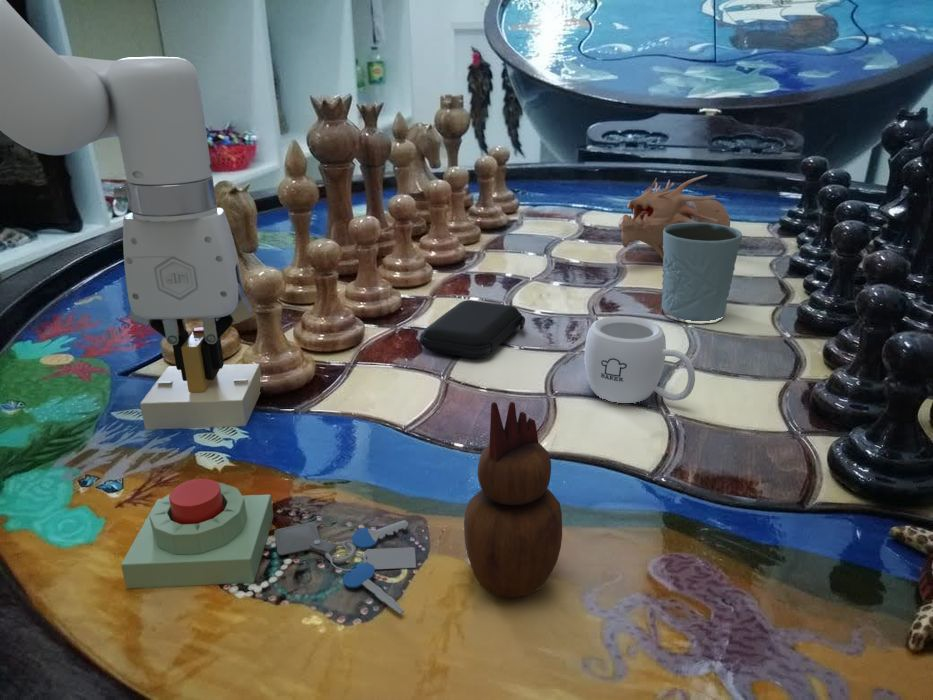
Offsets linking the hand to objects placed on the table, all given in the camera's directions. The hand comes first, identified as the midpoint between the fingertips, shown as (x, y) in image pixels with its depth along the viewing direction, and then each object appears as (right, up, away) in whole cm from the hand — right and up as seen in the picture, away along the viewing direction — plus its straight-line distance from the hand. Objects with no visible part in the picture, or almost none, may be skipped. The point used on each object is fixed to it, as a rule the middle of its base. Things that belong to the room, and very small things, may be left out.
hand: (201, 373), depth 76 cm
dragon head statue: (+64, +18, +51) cm, 84 cm away
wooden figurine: (+31, -14, -23) cm, 41 cm away
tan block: (0, -1, 0) cm, 1 cm away
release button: (+7, -10, -22) cm, 25 cm away
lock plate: (0, -4, +2) cm, 4 cm away
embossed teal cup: (+59, +7, +27) cm, 66 cm away
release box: (+7, -13, -20) cm, 25 cm away
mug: (+46, -3, +3) cm, 46 cm away
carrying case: (+29, +4, +19) cm, 35 cm away
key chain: (+20, -13, -20) cm, 31 cm away
